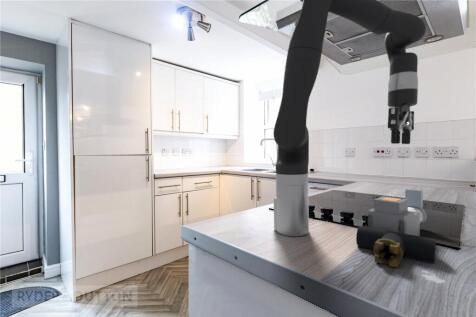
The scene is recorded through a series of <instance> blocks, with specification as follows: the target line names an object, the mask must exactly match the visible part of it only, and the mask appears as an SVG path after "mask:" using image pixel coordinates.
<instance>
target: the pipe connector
mask: <svg viewBox="0 0 476 317" xmlns="http://www.w3.org/2000/svg"><path fill="white" fill-rule="evenodd" d="M355 241H356V242H355V243H356V246H358V247H361V248H365V249H370V250H373V255H374V263H379V264H387V265H388V266H390V267H393V268H398V267H399V265H400V262H401V261H402V259H403V257H405V258H410V259H414V260H419V261H424V262H428V263H431V264H435V261H436V247H437V246H436V243H437V242H436V238H433V237H432V238H431V237H427V236H415V235H409V234H404V233H398V232H392V231H387V230H381V229H375V228H369V227H368V226H363V225H359V226H358V227H357V230H356V237H355Z"/></svg>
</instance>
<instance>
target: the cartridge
mask: <svg viewBox="0 0 476 317" xmlns="http://www.w3.org/2000/svg"><path fill="white" fill-rule="evenodd" d="M423 192H424V191H423V190H422V189H413V188H405V190H404V194H405V196H404V197H405V198H404V199H408V211H413V212H420V225H422V224H424V222H425V221H426V220H427V212H426V211H425V210H424V208H423V207H424V206H423V205H424V204H423V203H424V202H423V201H424V195H423V194H424V193H423Z"/></svg>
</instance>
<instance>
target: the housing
mask: <svg viewBox="0 0 476 317" xmlns="http://www.w3.org/2000/svg"><path fill="white" fill-rule="evenodd" d="M385 197H387V198H393V197H391V196H384V195H383V196H380V197H378V198H374V199H373V207H372V208H371V209H368V210H367V227H369V228H375V229H381V230H387V231H392V232H398V233H404V234H409V235H415V236H420V233H421V232H420V228H421V226H420V225H421V224H420V212H413V211H408V199H405V198H400V197H397V198H396V197H394V198H395V199H401V200H400V201H398V202H394V201H387V200H380V199H382V198H385Z"/></svg>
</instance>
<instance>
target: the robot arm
mask: <svg viewBox="0 0 476 317" xmlns="http://www.w3.org/2000/svg"><path fill="white" fill-rule="evenodd" d="M299 1H300V2H301V3H302V6H301V11H300V14H299V17H298V19H297V22H296V24H295V27H294V29H293V32H292V35H291V38H290V41H289V44H288V49H287V54H286V55H287V56H286V60H285V67H284V68H285V69H284V76H283V86H282V94H281V95H282V97H281V101H280V104H279V105H280V106H279V110H278V113H277V117H276V121H275V125H274V127H273V132H272V133H273V139H274V142H275V143H276V144H277V160H276V163H275V187H276V188H275V192H276V193H275V194H276V197H274V198H273V228H274V231H277V233H278V234H281V235H282V236H283V235H284V236H289V237H302V236H306V235H308V234H309V231H310V230H309V227H310V226H309V225H310V224H309V219H310V218H309V215H310V214H309V213H310V212H309V162H310V156H309V155H310V134H309V128H308V127H307V117H308V107H309V101H310V98H311V94H312V91H313V88H314V86H315V83H316V80H317V78H318V75H319V69H320V66H321V59H322V54H323V45H324V41H325V40H324V39H325V35H326V29H327V22H328V18H329V17H328V16H329V13H331V14H333V15H336V16H338V17H342V18H343V19H346V20H349V21H351V22H353V23H355V24H356V25H358V26H360V27H362V28H363V29H365V30H366V31H369V32H370V33H372V34H374V35H377V36H379V35H385V34H386V35H385V38H384V48H385V52H386V54H387V59H388V62H389V78H388V83H387V84H388V85H387V86H388V87H387V107H389V108H388V113H387V114H388V117H387V128H388V129H389V130H390V132H391V133H390V143H391V144H393V145H395V144H396V145H399V144H400V143H401V144H402V145H410V144H411V135H412V134H411V133H412V131H414V130H415V112H414V110H411V107H414V106H416V105H418V95H419V94H418V93H419V92H418V91H419V77H418V63H419V62H418V61H419V59H418V55H417V53H415V52H411V51H410V52H409V51H408V52H407V50H406V47H408V46H410V45H413V44H415V43H417V42H419V41H421V40H422V38H423V37H424V36H425V35H426V31H427V26H426V24H425V21H424V20H423V19H422V18H421V17H420V16H417V15H416V14H413V13H408V12H405V11H404V12H403V11H402V10H401V11H400V10H395V9H392V8H390V7H389V6H388V5H385V4H384V3H382V2H381V1H380V0H299Z"/></svg>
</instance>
